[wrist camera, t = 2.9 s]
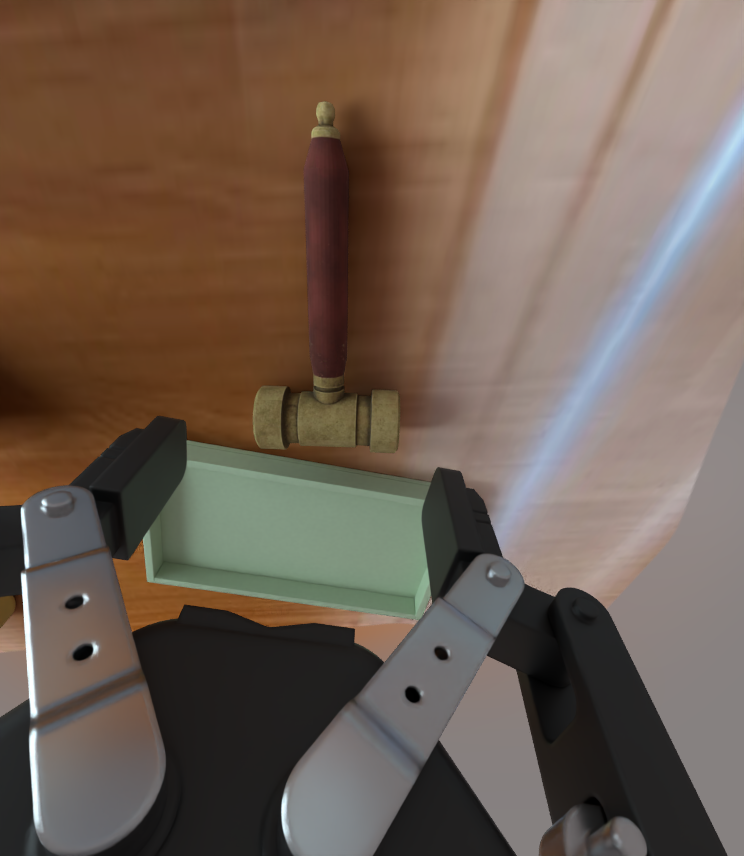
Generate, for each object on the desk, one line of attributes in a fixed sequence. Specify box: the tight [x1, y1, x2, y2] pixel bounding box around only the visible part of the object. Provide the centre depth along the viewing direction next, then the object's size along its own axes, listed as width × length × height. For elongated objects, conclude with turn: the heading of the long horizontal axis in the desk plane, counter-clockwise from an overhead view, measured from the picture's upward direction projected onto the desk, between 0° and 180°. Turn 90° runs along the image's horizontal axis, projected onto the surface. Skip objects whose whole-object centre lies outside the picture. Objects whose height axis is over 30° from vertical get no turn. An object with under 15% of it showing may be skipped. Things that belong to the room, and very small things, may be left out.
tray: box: [143, 440, 431, 620], centre depth 38 cm, size 26×15×3 cm, turn 78°
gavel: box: [253, 101, 400, 453], centre depth 27 cm, size 21×5×10 cm
